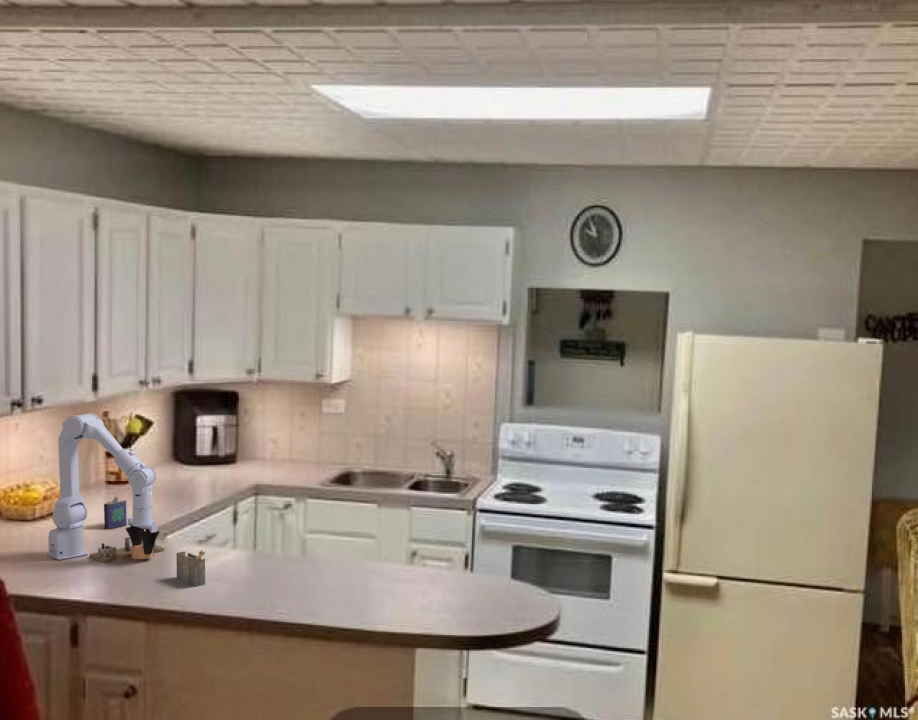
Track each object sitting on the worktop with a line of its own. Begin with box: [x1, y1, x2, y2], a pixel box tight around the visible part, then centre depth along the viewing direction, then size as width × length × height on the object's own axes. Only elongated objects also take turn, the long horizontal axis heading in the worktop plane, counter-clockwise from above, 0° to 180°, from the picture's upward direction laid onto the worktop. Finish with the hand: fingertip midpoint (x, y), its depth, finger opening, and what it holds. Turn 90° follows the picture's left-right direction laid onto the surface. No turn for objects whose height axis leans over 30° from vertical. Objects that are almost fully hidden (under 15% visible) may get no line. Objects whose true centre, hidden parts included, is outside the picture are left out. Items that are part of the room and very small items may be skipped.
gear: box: [131, 544, 155, 560], centre depth 288 cm, size 6×6×3 cm
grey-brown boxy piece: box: [176, 549, 207, 587], centre depth 266 cm, size 11×3×10 cm, turn 44°
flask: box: [103, 496, 128, 531], centre depth 330 cm, size 9×3×11 cm, turn 152°
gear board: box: [89, 537, 165, 563], centre depth 294 cm, size 20×9×5 cm, turn 137°
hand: (142, 551), depth 288 cm, fingers closed on gear, 6 cm apart
